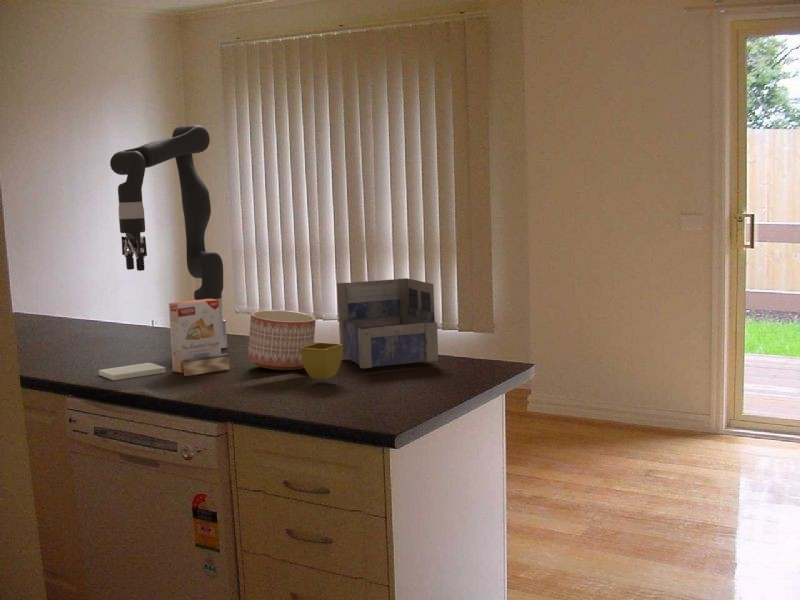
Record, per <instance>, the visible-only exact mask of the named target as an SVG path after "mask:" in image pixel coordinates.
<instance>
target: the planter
mask: <svg viewBox="0 0 800 600" xmlns="http://www.w3.org/2000/svg"><path fill="white" fill-rule="evenodd" d="M316 319H317V318H316V317H315V316H314V315H312V314H308V313H304V312H299V311H293V310H292V311H290V310H278V309H275V310H274V309H271V310H270V309H265V310H263V309H262V310H257V311H256V310H255V311H253V312H251V313H250V324H249V334H248V335H249V336H248V348H247V349H248V351H247V354H248V355H247V358H248V360H249V361H251V362H253V364H254V365H256V366H258V367H260V368H264V369H267V370H268V369H270V370H279V371H293V370H294V371H297V370H302V369H305V368H304V365H303V361H302V356H301V350H300V348H301V347H304V346H308V345H312V344H315V333H316V322H317V320H316Z"/></svg>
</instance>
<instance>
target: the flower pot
mask: <svg viewBox="0 0 800 600" xmlns="http://www.w3.org/2000/svg"><path fill="white" fill-rule="evenodd" d="M300 350H301V356H302V361H303V365H304V368H303V369H305V372H306V373H307V374H308V376H309V377H310V378H312V379H321V380H325V379H328V378H332V377H334V376H336V374H337V373H338V371H339V369H340V366H341V362H342V357H341V356H342V344H340V343H331V342H330V343H329V342H316V343H315V342H314V344H312V345H308V346H304V347H301V348H300Z"/></svg>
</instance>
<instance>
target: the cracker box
mask: <svg viewBox="0 0 800 600" xmlns="http://www.w3.org/2000/svg"><path fill="white" fill-rule="evenodd" d="M168 307H169V308H168V313H169V327H170V330H169V331H170V344H171V345H170V346H171V361H172V365H171V366H172V371H173V372H175V373H178V374H184V365H183V360H186V359H192V358H199V357H206V356H213V355H220V354H222V349H221V340H220V319H219V300H216V299H203V300H194V299H192V300H186V301H184V300H183V301H177V302H176V301H175V302H170V303H168Z"/></svg>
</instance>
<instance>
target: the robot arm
mask: <svg viewBox="0 0 800 600" xmlns="http://www.w3.org/2000/svg"><path fill="white" fill-rule="evenodd" d="M210 138H211V137H210V135H209V132H208V130H207V129H206V128H205V126H202V125H198V124H192V125H183V126H182V125H181V126H177V127H175V128H174V130H173V132H172V137H170V138H169V137H168V138H163V139H159V140H154V141H150V142H148V143H145V144H143V145H140V146H138V147H134V148H129V149H125V150H124V149H123V150H120V151H117V152H116V153H114V154H113V155H112V156H111V158H110V162H109V165H110V169H111V171H112V172H114V173H115V174H117V175H121V176H126V178H125V179H126V180H125V181H124V182H122V183H119V185H118V186H117V195H118V218H119V219H118V223H119V233H120V234H125V235H122V236H121V254H122V255H121V256H124V257H125V264H126V266H125V267H126V270H128V271H130V270H134V269H135V264H136V271H139V272H140V271H141V272H142V271H145V257H147V256H148V253H147V250H148V249H147V240H146V236H142V235H141V234H142V233H146V220H145V208H144V204H143V190H142V189H143V184H144V178H145V173H146V169H147V168H151V167H153V166H157V165H160V164H162V163H164V162H167V161H169V160H172V159H175V161H176V167H177V171H178V172H177V173H178V177H179V185H180V194H181V205H182V212H183V217H184V218H183V219H184V229H185V241H186V242H185V243H186V245H185V246H186V249H185V250H186V267H187V271H188V273H189V275H190V276H191V277H192V278H195V279H201V285H200V287H199V288H198V289H197V288H196V290H194V292H193V300H203V299H216V300H219V319H220V340H221V350H222V349H226V348H228V339H227V325H226V324H227V323H226V322H227V321H226V320H225V319H224V315H223V298H222V297H223V289H224V263H223V259H222V257H221V255H220V254H219V253H218V252H216V251H206V244H205V233H206V229H207V227H208V224H209V222H210V218H211V214H212V206H211V198H210V197H211V196H210V191H209V189H208V188H207V185H206V184H205V182H204V181H203V180H202V178H201V177H200V175H199V173H198V172H197V169H196V167H195V164H194V158H193V157H194V156H193V154H200V153H203V152H204V151H206V150H207V149H208V147H209V145H210V142H211V141H210ZM134 256H135V262H134Z"/></svg>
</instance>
